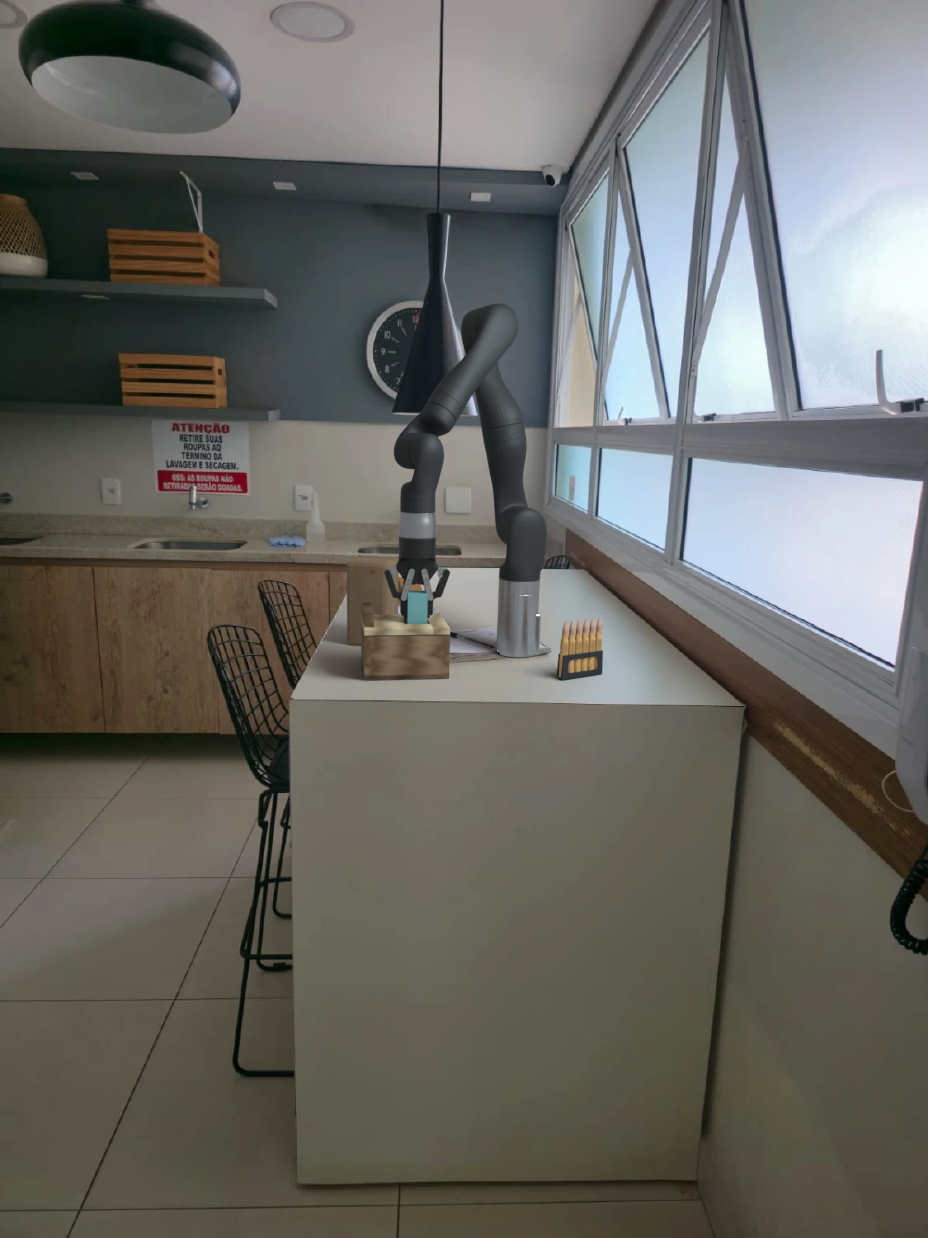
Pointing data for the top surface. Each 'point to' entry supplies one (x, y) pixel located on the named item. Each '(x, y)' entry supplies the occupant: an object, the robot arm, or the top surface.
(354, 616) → the wooden block
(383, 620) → the lid
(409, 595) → the teal block
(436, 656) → the wooden box
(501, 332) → the robot arm
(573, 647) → the ammunition clip
